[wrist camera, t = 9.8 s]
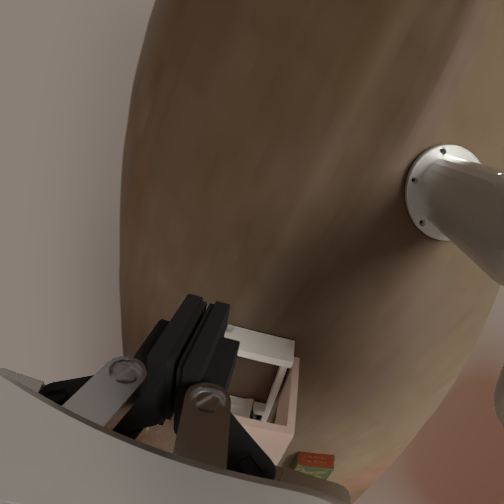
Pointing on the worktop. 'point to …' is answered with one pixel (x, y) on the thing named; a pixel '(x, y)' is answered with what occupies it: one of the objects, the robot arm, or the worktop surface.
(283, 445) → the cubby
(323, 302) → the worktop surface
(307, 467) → the carton
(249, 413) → the medicine bottle
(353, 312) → the worktop surface
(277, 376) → the rack
